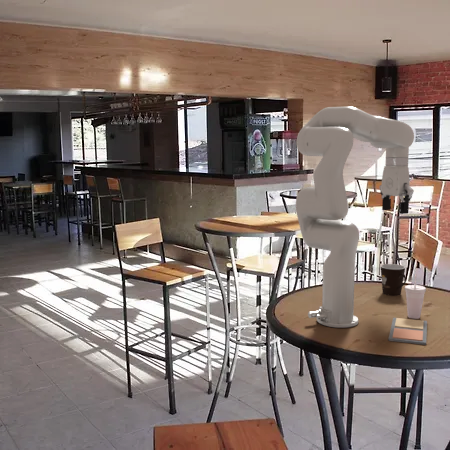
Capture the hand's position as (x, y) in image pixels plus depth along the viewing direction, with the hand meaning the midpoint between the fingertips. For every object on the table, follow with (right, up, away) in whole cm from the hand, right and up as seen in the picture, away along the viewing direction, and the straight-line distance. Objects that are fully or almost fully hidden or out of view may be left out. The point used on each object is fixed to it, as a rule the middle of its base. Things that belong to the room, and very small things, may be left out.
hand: (395, 211), depth 201 cm
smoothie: (+1, -34, -18) cm, 39 cm away
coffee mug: (+1, -30, +8) cm, 31 cm away
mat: (-5, -36, -32) cm, 48 cm away
